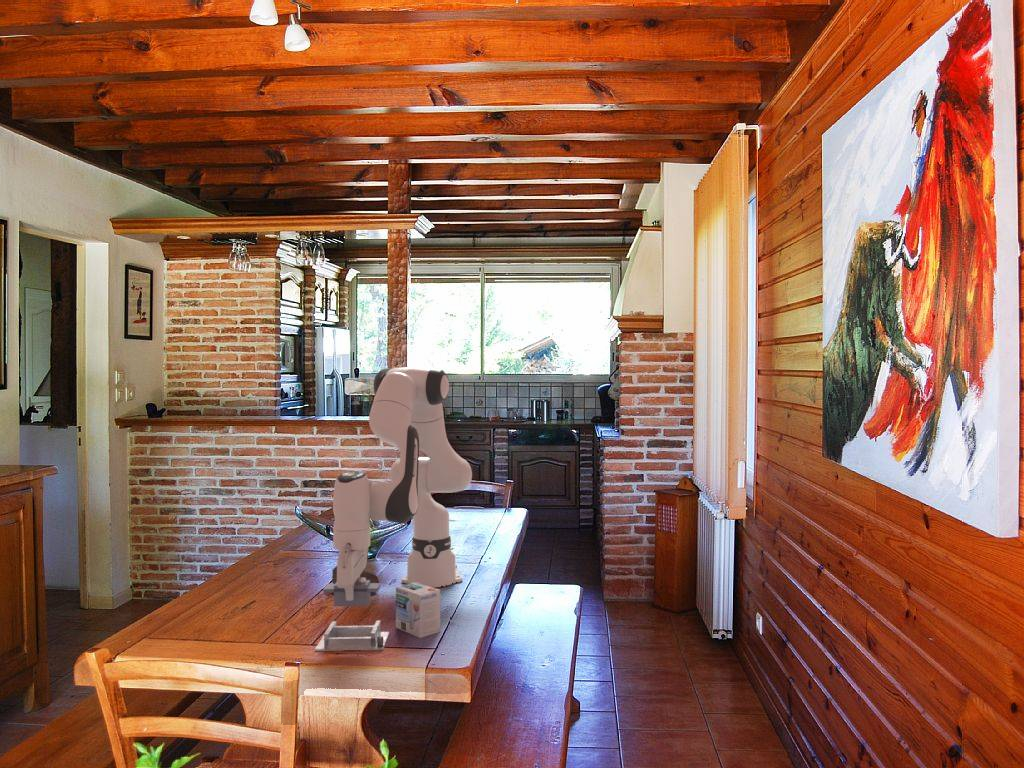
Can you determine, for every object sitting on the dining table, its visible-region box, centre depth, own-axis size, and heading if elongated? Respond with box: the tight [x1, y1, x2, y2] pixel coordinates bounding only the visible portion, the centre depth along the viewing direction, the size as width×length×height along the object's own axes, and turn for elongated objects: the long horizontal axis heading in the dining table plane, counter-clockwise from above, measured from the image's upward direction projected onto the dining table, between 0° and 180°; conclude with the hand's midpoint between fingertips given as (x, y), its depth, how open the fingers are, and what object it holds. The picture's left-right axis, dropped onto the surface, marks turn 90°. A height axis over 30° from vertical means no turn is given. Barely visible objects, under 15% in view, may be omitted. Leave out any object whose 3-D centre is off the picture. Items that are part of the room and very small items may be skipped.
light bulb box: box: [395, 582, 441, 639], centre depth 193 cm, size 11×7×11 cm, turn 45°
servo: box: [322, 578, 381, 607], centre depth 184 cm, size 4×13×6 cm, turn 91°
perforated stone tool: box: [331, 565, 380, 584], centre depth 228 cm, size 15×5×7 cm, turn 70°
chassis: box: [314, 620, 390, 652], centre depth 185 cm, size 11×16×4 cm
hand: (352, 596), depth 184 cm, fingers closed on servo, 4 cm apart
